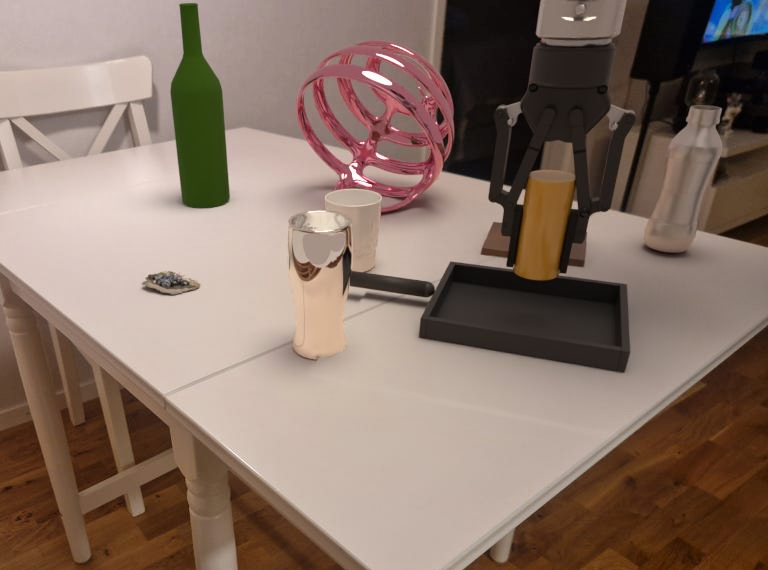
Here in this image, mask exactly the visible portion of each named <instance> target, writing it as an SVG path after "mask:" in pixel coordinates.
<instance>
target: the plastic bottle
mask: <svg viewBox="0 0 768 570" xmlns="http://www.w3.org/2000/svg"><path fill="white" fill-rule="evenodd" d="M722 111H723V108H722V107H719V106H716V105H715V106H714V105H705V104H702V105H701V104H700V105H698V104H697V105H691V106H690V108H689V111H688V114H687V116H686V119H685V121H686V123H687V124H686V126H684V127H683V128H682V129H681V130H679V132H678V133H677V134H676V135H675V136H674V137H673V138H671V141H670V143H669V144H668V145H667V150H666V156H665V164H664V165H665V166H664V172H663V177H662V181H661V187H660V191H659V195H658V198H657V201H656V203H655V205H654V207H653V211H652V212H651V215H650V217H649V219H648V220H647V223H646V225H645V227H644V232H643V240H644V243H645V246H647V247H648V248H650V249H652V250H654V251H655V250H656V251H658V252H664V253H672V254H673V253H675V254H676V253H682V252H685V251H686V250H688V249H689V248H690V247H691V246H692V244H693V242H694V240H695V239H696V236H697V230H698V219H699V214H700V209H701V206H702V200H703V197H704V195H705V191H706V189H707V187H708V184H709V182H710V179H711V176H712V175H713V172H714V170H715V168H716V166H717V165H718V162H719V160H720V158H721V156H722V154H723V142H722V139H721V136H720V134H719V132H718V130H717V128H716V127H717V125H719V124H720V121H721V114H722Z"/></svg>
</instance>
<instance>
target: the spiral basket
mask: <svg viewBox="0 0 768 570" xmlns="http://www.w3.org/2000/svg"><path fill="white" fill-rule="evenodd" d="M356 55H357V56H365V57H367V59H366V61H365V66H360V65H355V64H352V61H353V59H354V57H356ZM403 56H404V57H403ZM339 57H340V58H339ZM405 57H406V58H409V59H411V60H413V61H415V62H416V63H417V64H418V65H420V66H421V67H422V68H423V69H424V70H425V72H426V73H427V74H428V75H427V74H426V73H425V72H424V71H423V70H422V69H420V68H419V67H418V65H416V64H414V63H413V62H411V61H410V60H409V59H406V58H405ZM336 58H339V60H338V62H337V63H334V64H330V63H331V62H332V61H333V60H335V59H336ZM382 62H385V63H387V64H390V65H391V66H393V67H395V68H397V69H399V70H400V71H402V72H403V73H405V74H406V75H408V76H409V77H410V78H412V79H413V80H414V81H416V82H417V83H418V84H419V85H420V86H418V87H417V91H418V94H419V96H420V99H421V101H420V100H418V99H417V98H416V97H415V96H414V95H413V94H412V93H411V92H409V90H407V89H406V88H405V86H404V85H401V84H399V83H398V82H396V81H394V80H393V79H391V78H390V77H388V76H386V75H384V74H382V73H380V68H381V63H382ZM332 78H333V79H335V80H336V84H337V88H338V92H339V94H340V97H341V99H342V101H343V103H344V104H345V106H346V108H347V109H348V110H349V112H350V113H351V114H352V116H354V118H355V119H356V120H357V121H358V122H359V123H360V124H361V125H363V126H364V127H365V128H366V129H367V131H368V136H367V138H366V139H365V140H364V141H360V140H358V139H357V138H355V137H354V136H353V135H352V134H351V133H350V132H349V131H348V130H347V129H346V128H345V127H344V126H343V124H342V123H341V122H340V120H339V119H338V118H337V117H336V115H335V114H334V112H333V110H332V109H331V106H330V105H329V102H328V100H327V96H326V92H325V87H324V79H332ZM352 81H355V82H358V83H359V84H360V83H361V84H364V85H365V86H368V87H369V88H370V90H371V91H372V93H373V94H374V95H375V97H376V98H377V99H378V100H379V101H380V102H381V103H382V104H383V105H384V106H385V109H384V112H383V113H382V115H381V116H375V115H374V114H373V113H372V112H371V111H370V110H369V109H368V107H366V106H365V105H364V104H363V102H362V101H361V99H360V98H359V97H358V95H357V92H356V91H355V89H354V86H353V84H352ZM310 85H311V93H312V99H313V103H314V107H315V108H316V112H317V114H318V116H319V118H320V119H321V121H322V122H323V123H322V124H324V126H325V127H326V129H327V130H328V131H329V132H330V134H331V135H332V136H333V137H334V138H335V139H336V141H337V142H339V144H341V145H342V146H343V147H344V148H345V149H346V150H347V151H348V152H350V154H351V155H352V161H351V162H350V163H348V164H347V163H344V162H343V161H342V160H340V159H338V158H337V157H336V156H335V155H334V154H333V153H332V152H331V151H330V150H329V149H328V147H326V146H325V145H324V143H323V141H321V139H320V138H319V137H318V135H317V134H316V132H315V131H314V129H313V127H312V125H311V122H310V121H309V118H308V116H307V115H308V114H307V113H306V107H305V93H306V90H307V88H308V87H309V86H310ZM422 88H423V89H422ZM424 90H425V91H426V92H427V93H428V94H429V96H428V95H427V93H426V92H425V91H424ZM438 108H439V110H440V112H441V114H442V116H443V121H442V122H441V123H440V124H439V123H438V121H437V116H436V112H437V110H438ZM454 110H455V107H454V102H453V97H452V93H451V91H450V88H449V87H448V85H447V82H446V81H445V79H444V78H443V76H442V75H441V73H440V72H439V71H438V69H437V68H436V67H435V66H434V65H433V63H431V62H430V61H429V60H428V59H427V58H425V57H424V56H422V55H421V54H420V53H419V52H417V51H415V50H414V49H412V48H410V47H408V46H406V45H403V44H401V43H398V42H395V41H390V40H386V39H369V40H368V39H367V40H363V41H360V42H357V43H355V44H353V45H350V46H349V45H348V46H345V47H342V48H339V49H337V50H335V51H333V52H331V53H330V54H328V55H327V56H326V57H324V59H322V60H321V62H320V63H319V64H318V66H316V69H315V70H314V71H312V72H311V73H310V74H309V75H308V76H307V77H306V78H305V79H304V81H303V82H302V84H301V86H300V88H299V90H298V92H297V95H296V100H295V115H296V119H297V122H298V127H299V129H300V130H301V133H302V135H303V137H304V139H305V141H306V142H307V144H308V145H309V147H310V148H311V149H312V150H313V152H314V153H315V154H316V156H318V157H319V159H320V160H321V161H322V162H323V163H324V164H325V165H326V166H328V167H329V168H330V169H331V170H332V171H334V172H335V173H336V175H338V177H339V180H338V182H337V184H336V185H335V187H334V189H332V191H331V192H333V191H336V190H342V189H352V188H354V187H357V188H359V189H364V190H370V191H374V192H376V193H379V194H380V195H381V196H384V197H390V198H405V199H403V200H402V201H400V202H398V203H395V204H392V205H388V206H381V214H385V213H389V212H390V213H391V212H394V211H396V210H399V209H402V208H403V207H405V206H407V205H409V204H411V203H412V202H413V201H415V200H416V199H417V198H418V197H419V196H421V195H422V194H423V193H425V192H426V191H427V190H428V189H429V188H431V186H433V185H434V183H435V182H436V181H437V180H438V179H439V177H440V175H441V173H442V171H443V169H444V164H445V162H446V161H447V159H448V158H449V156H450V155H451V152H452V149H453V146H454V142H455V133H456V132H455V131H456V130H455V121H454V120H455V119H454V117H455V115H454V114H455V111H454ZM395 114H399V115H400V114H401V115H403V116H407V117H412V119H413V120H414V121H415V122H416V123H417V124H418V126H419V127H420V129H421V130H422V132H412V131H411V132H410V131H405V130H401V129H398V128H395V127H394V126H392V125H391V121H392V117H393V116H394V115H395ZM447 135H448V139H447V144H446V146H445V145H444V138H446V136H447ZM382 141H387V142H390V143H392V144H395V145H398V146H402V147H407V148H425V147H427V148H429V154H428V157H427V158H426V159H425V160H422V161H404V160H398V159H394V158H391V157H388V156H386V155H383V154H381V153H380V152H378V145H379V144H380V142H382ZM369 166H371V167H374V168H378V169H379V170H382V171H384V172H389V173H392V174H397V175H403V176H420V175H421V176H422V178H421V179H420V181H419V182H418V183H417V184H415V185H413V186H397V185H390V184H387V183H386V184H385V183H382V182H379V181H376V180H373V179H372V178H371V179H370V178H368V177H367V176H365V174H363V173H364V169H365V168H367V167H369Z"/></svg>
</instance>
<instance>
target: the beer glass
mask: <svg viewBox="0 0 768 570" xmlns="http://www.w3.org/2000/svg"><path fill="white" fill-rule="evenodd" d="M286 247H287V248H286V258H287V259H286V260H287V261H286V262H287V273H288V280H289V286H290V291H291V295H292V300H293V306H294V310H295V318H296V319H295V331H294V335H293V343H292V347H293V350H294V352H295V353H296V354H297V355H299V356H300V357H303V358H305V359H309V360H315V361H318V360H319V358H327V357H332V356H335V355H338V354H340V353H341V352H343V351H344V350H345V349H346V347H347V339H346V338H347V337H346V333H345V326H344V325H345V324H344V323H345V321H344V319H345V310H346V305H347V300H348V295H349V290H350V287H351V286H350V281H351V275H352V266H353V237H352V219H351V218H350V217H349V216H348V215H346V214H343V213H340V212H335V211H327V210H325V209H324V210H323V209H319V210H317V209H315V210H307V211H302V212H299V213H296V214H294V215H291V216H290V217H289V219H288V229H287V245H286Z"/></svg>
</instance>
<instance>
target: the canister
mask: <svg viewBox="0 0 768 570" xmlns="http://www.w3.org/2000/svg"><path fill="white" fill-rule="evenodd" d="M575 193H576V179H575V173H572V172H569V171H564V170H558V169H537V170H532V171H531V172H530V174H529V176H528V178H527V181H526V183H525V190H524V195H523V203H522V205H523V208H522V215H521V222H520V228H519V235H518V241H517V247H516V254H515V260H514V266H513V267H512V269H513V271H514V273H515V274H517V275H518V276H520V277H523V278H526V279H531V280H550V279H554V278H556V277H557V276H558V275H560V273H559V271H560V265H561V260H562V255H563V250H564V245H565V239H566V234H567V229H568V224H569V219H570V214H571V209H573V203H574V199H575Z"/></svg>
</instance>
